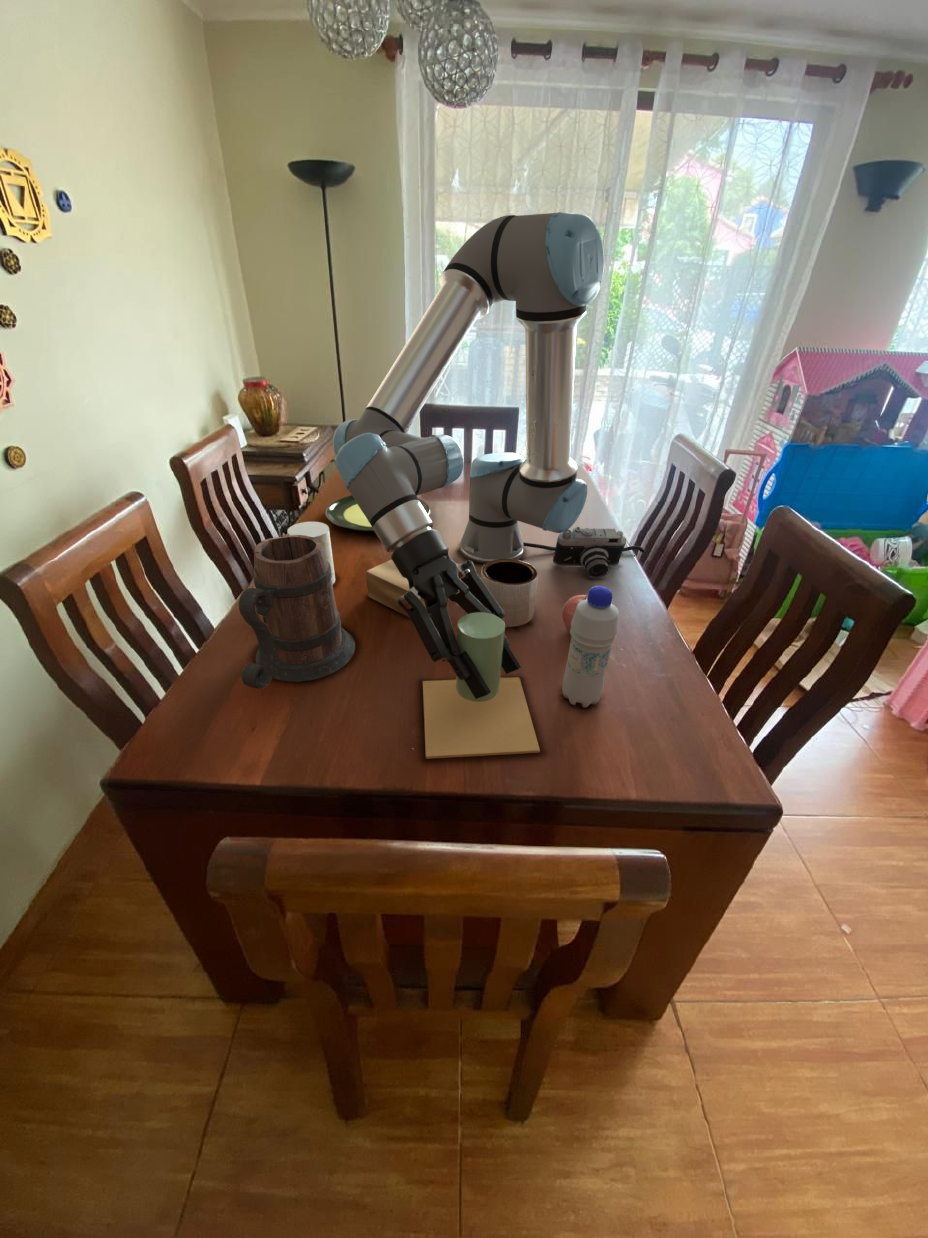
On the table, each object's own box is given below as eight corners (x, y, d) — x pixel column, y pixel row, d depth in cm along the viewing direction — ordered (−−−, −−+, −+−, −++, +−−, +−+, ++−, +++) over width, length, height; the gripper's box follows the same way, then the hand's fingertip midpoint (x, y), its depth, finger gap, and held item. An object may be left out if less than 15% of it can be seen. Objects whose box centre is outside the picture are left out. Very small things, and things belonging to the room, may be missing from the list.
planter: (538, 605, 106) (543, 563, 101) (526, 634, 97) (531, 590, 92) (487, 595, 109) (490, 554, 104) (471, 622, 100) (473, 578, 95)
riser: (409, 575, 115) (408, 551, 112) (450, 594, 109) (450, 569, 105) (368, 596, 107) (365, 570, 104) (409, 618, 101) (408, 591, 98)
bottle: (554, 684, 86) (571, 577, 75) (594, 682, 86) (617, 576, 75) (564, 712, 80) (584, 602, 69) (607, 711, 81) (633, 601, 70)
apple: (568, 617, 103) (573, 581, 98) (604, 628, 100) (611, 592, 95) (554, 635, 97) (559, 599, 93) (591, 648, 94) (599, 610, 90)
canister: (496, 672, 79) (501, 611, 73) (502, 701, 74) (508, 637, 68) (454, 674, 78) (455, 612, 72) (457, 703, 73) (459, 639, 67)
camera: (556, 583, 117) (565, 550, 109) (551, 557, 123) (558, 524, 115) (625, 583, 118) (638, 550, 110) (616, 557, 123) (628, 524, 116)
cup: (325, 592, 108) (318, 539, 101) (289, 588, 109) (279, 535, 103) (341, 574, 115) (335, 523, 108) (306, 570, 116) (298, 519, 109)
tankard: (290, 616, 100) (272, 519, 89) (371, 633, 96) (362, 533, 85) (207, 694, 81) (171, 583, 70) (303, 718, 78) (280, 605, 66)
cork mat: (519, 679, 86) (519, 677, 86) (539, 752, 73) (540, 750, 73) (422, 683, 85) (422, 680, 85) (425, 759, 72) (425, 756, 71)
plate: (441, 505, 151) (441, 496, 150) (412, 544, 128) (412, 535, 127) (351, 495, 156) (351, 486, 155) (308, 531, 133) (306, 522, 132)
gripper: (444, 532, 81) (521, 658, 82) (346, 576, 68) (438, 725, 69) (471, 509, 75) (554, 644, 76) (371, 552, 63) (470, 714, 63)
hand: (498, 682), depth 72 cm, fingers closed on canister, 6 cm apart
